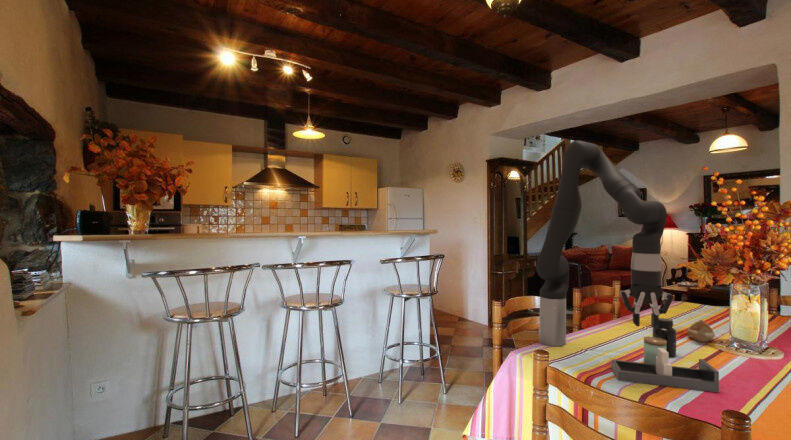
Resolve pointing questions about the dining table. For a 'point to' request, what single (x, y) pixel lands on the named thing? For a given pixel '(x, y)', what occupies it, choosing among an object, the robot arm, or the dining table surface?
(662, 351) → the block
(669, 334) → the supplement bottle
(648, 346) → the jar
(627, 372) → the tray
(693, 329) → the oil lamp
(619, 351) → the dining table surface
